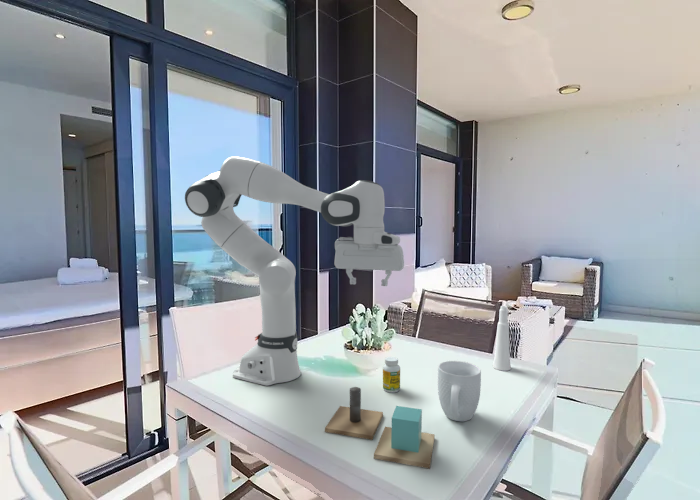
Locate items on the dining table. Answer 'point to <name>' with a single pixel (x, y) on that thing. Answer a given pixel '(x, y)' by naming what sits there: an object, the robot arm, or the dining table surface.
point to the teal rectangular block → (406, 429)
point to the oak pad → (405, 456)
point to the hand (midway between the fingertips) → (368, 284)
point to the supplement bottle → (391, 375)
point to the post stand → (355, 419)
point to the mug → (459, 389)
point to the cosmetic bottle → (502, 342)
